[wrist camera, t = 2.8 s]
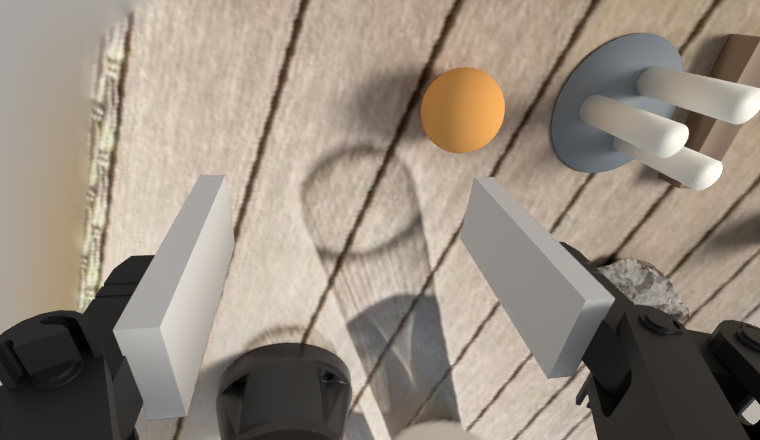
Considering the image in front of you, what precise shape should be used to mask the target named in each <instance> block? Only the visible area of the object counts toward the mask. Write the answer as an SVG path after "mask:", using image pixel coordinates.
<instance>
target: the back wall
mask: <svg viewBox="0 0 760 440" xmlns="http://www.w3.org/2000/svg"><path fill="white" fill-rule="evenodd" d="M709 77H710V78H715V79H719V80H724V81H728V82H733V83H738V84H742V85H747V86H751V87H756V88H760V37H758V36H747V35H737V34H731V35H730V37H729V39H728V41H727V43H726V45H725V47H724V49H723V51H722V53H721V55H720V57H719V59H718V61H717V63H716V65H715V67H714V69H713V71H712V72H711V74H710V76H709ZM685 125H686V126H687V128H688V130H689V136H688V139H687V141H686V143H685V145H684V147H686V148H689V149H691V150H694V151H696V152H698V153H701V154H703V155H706V156H708V157H710V158H713V159H715V160H718V161H720V162H721V160H722V159H723V157H724V155H725V154H726V152H727V150H728V148H729V147H730V145H731V143H732V142H733V140H734V138H735V137H736V135H737V133H738V131H739V130H740V128H741V126H742V125H743V123H742V124H732V123H729V122H726V121H723V120H719V119H716V118H713V117H710V116H707V115H703V114H700V113H697V112H694V111H692V112H691V114H690V116H689V118H688V120H687V122H686V124H685ZM659 178H661V179H663V180H665V181H667V182H668V183H670V184H672V185H674V186H676V187H678V188H690V187H688V186H686V185H684V184H682V183H680V182H679V181H677V180H675V179H673V178H671V177H669V176H667V175H665V174H663V173H660V175H659Z"/></svg>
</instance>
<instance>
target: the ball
mask: <svg viewBox="0 0 760 440" xmlns="http://www.w3.org/2000/svg"><path fill="white" fill-rule="evenodd" d="M504 112H505V102H504V97H503V94H502V91H501V89H500V87H499V86H498V84H497V83H496V82H495V80H494V79H493V78H492V77H490V76H489V75H488V74H486V73H485V72H483V71H480V70H477V69H474V68H457V69H453V70H450V71H448V72H445V73H444V74H442V75H441V76H439V77H438V78H437V79H436V80H435V81H434V82H433V83H432V84H431V85H430V86H429V88H428V89H427V91H426V93H425V95H424V98H423V101H422V105H421V121H422V125H423V128H424V130H425V132H426V134H427V136H428V137H429V139H430V140H431V141H432V142H433V143H434V144H436V145H437V146H438V147H440V148H442V149H444V150H446V151H449V152H453V153H467V152H472V151H475V150H477V149H480V148H481V147H483V146H485V145H486V144H487V143H489V142H490V141H491V140H492V139H493V138H494V136H495V135H496V134H497V132H498V131H499V129H500V127H501V125H502V122H503V119H504Z"/></svg>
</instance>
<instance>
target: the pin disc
mask: <svg viewBox="0 0 760 440" xmlns="http://www.w3.org/2000/svg"><path fill="white" fill-rule="evenodd" d="M652 66H659V67H664V68H668V69H673V70H678V71H682V72H684V68H683V64H682V60H681V57H680V55H679V53H678V51H677V49H676V48H675V47H674V46H673V45H672V44H671V43H670V42H669V41H668V40H666V39H665V38H663V37H660V36H658V35H654V34H649V33H635V34H629V35H625V36H622V37H619V38H617V39H614V40H612V41H610V42H608V43H606V44H605V45H603V46H601V47H600V48H598V49H597V50H596V51H594V52H593V53H592V54H590V55H589V56H588V57H587V58H586V59H585V60H584V61H583V62H582V63H581V64H580V65H579V66H578V67H577V68H576V69H575V71H574V72H573V73H572V75H571V76H570V77H569V79H568V80H567V82H566V83H565V85H564V87H563V88H562V90H561V92H560V94H559V97H558V99H557V102H556V104H555V107H554V111H553V115H552V122H551V136H552V142H553V146H554V149H555V151H556V153H557V155H558V156H559V157H560V159H561V160H562V161H563V162H564V163H565V164H567V165H568V166H570V167H571V168H573V169H575V170H578V171H582V172H587V173H598V172H604V171H609V170H612V169H615V168H617V167H620V166H622V165H624V164H626V163H628V162H630V161H631V160H633V159H634V158H632V157H630V156H628V155H626V154H624V153H622V152H620V151H618V150H616V149H615V148H614V147H613V139H614V136H613V135H611V134H609V133H607V132H605V131H603V130H601V129H599V128H597V127H594V126H592V125H590V124H588V123H586V122H584V121H582V120H581V118H580V116H579V110H580V107H581V105H582V103H583V102H584V101H585V100H586V99H587V98H588V97H590V96H592V95H595V94H599V95H602V96H605V97H608V98H611V99H614V100H616V101H619V102H622V103H625V104H628V105H631V106H633V107H636V108H639V109H642V110H645V111H647V112H650V113H653V114H656V115H659V116H661V117H664V118H667V119H670V120H671V118H672V117H673V115H674V113H675V111H676V108H677V106H675V105H671V104H668V103H665V102H662V101H659V100H656V99H652V98H649V97H646V96H643V95H640V94H639V93H638V92H637V89H636V85H637V81H638V79H639V77H640V75H641V74H642V73H643V72H644V71H645V70H646V69H648V68H649V67H652Z"/></svg>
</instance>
